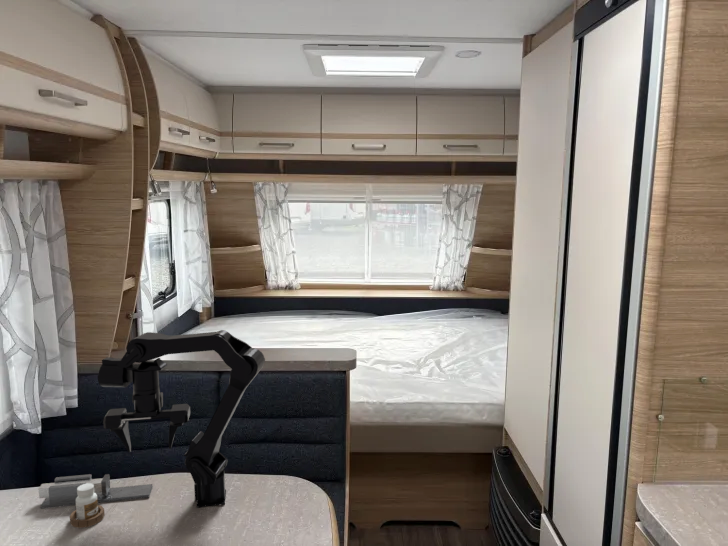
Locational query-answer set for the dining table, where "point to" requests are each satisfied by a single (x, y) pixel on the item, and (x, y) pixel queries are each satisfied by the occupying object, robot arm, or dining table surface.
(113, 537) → the dining table surface
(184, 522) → the dining table surface
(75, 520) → the bottle collar
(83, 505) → the pill bottle
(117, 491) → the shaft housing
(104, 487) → the grey long bar
